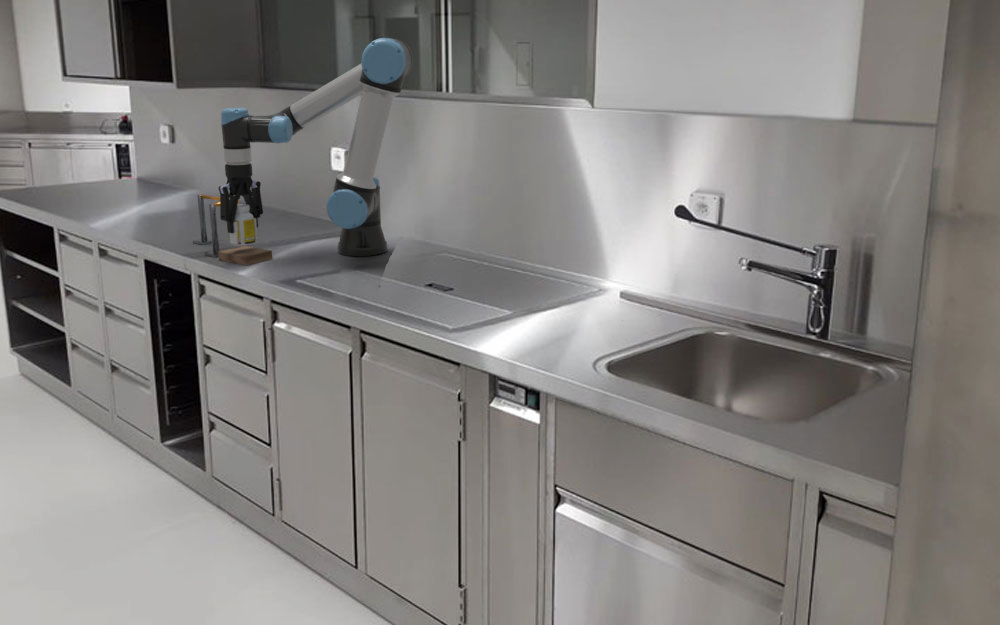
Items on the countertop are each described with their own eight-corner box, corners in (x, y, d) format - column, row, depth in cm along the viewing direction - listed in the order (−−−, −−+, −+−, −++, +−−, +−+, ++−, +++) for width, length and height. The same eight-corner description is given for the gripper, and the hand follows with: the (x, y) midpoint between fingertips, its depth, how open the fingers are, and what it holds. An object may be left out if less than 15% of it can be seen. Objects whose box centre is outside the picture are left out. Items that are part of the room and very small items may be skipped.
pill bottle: (259, 242, 276) (256, 204, 272) (249, 247, 270) (246, 207, 266) (239, 241, 277) (236, 203, 274) (228, 246, 271) (225, 206, 268)
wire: (251, 248, 288) (247, 198, 283) (215, 257, 277) (210, 204, 272) (205, 240, 300) (201, 191, 295) (169, 248, 289) (164, 197, 284)
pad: (272, 258, 275) (271, 250, 275) (246, 265, 267) (245, 257, 267) (245, 253, 282) (244, 245, 281) (218, 259, 274) (218, 251, 273)
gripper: (255, 158, 276) (260, 234, 283) (201, 165, 261) (208, 245, 267) (272, 160, 272) (277, 237, 279) (219, 167, 257) (226, 249, 263)
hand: (244, 241), depth 273 cm, fingers closed on pill bottle, 6 cm apart
